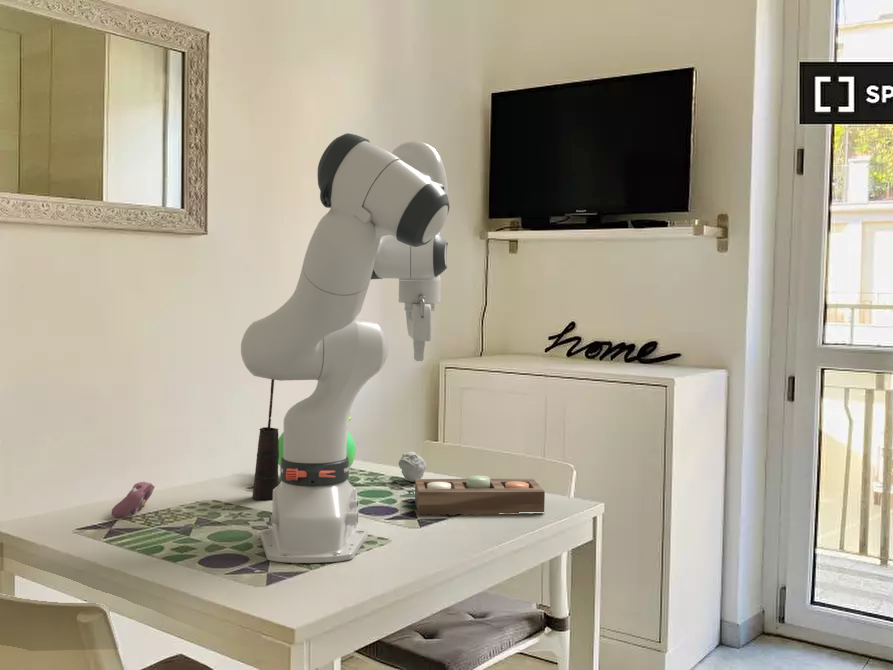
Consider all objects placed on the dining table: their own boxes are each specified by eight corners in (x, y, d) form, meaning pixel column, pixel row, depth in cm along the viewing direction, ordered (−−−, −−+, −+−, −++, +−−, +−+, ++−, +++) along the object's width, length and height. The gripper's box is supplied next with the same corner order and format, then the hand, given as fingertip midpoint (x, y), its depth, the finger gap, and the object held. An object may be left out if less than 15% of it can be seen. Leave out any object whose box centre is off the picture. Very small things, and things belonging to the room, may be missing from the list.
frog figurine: (392, 482, 205) (392, 452, 205) (411, 477, 211) (411, 447, 210) (413, 486, 201) (413, 455, 201) (432, 481, 207) (432, 450, 207)
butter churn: (260, 506, 180) (261, 367, 179) (230, 499, 186) (231, 364, 185) (295, 498, 188) (296, 365, 186) (265, 491, 194) (266, 362, 192)
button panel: (544, 514, 179) (544, 491, 178) (418, 514, 176) (418, 492, 176) (532, 499, 190) (533, 478, 190) (414, 500, 188) (415, 479, 188)
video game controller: (129, 526, 170) (146, 494, 170) (108, 515, 170) (124, 483, 170) (146, 513, 180) (161, 482, 180) (125, 503, 180) (141, 472, 179)
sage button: (491, 492, 181) (491, 480, 181) (467, 492, 180) (468, 480, 180) (488, 487, 186) (488, 475, 186) (465, 487, 185) (465, 475, 185)
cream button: (451, 499, 180) (452, 486, 180) (428, 499, 180) (428, 486, 180) (449, 493, 185) (449, 481, 185) (426, 493, 185) (426, 481, 184)
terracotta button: (530, 498, 182) (530, 486, 182) (507, 498, 181) (507, 486, 181) (526, 493, 187) (526, 481, 186) (503, 493, 186) (503, 481, 186)
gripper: (439, 295, 179) (437, 364, 179) (430, 294, 199) (429, 356, 200) (407, 295, 178) (406, 364, 179) (402, 294, 198) (401, 356, 199)
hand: (418, 360), depth 189 cm, fingers closed
